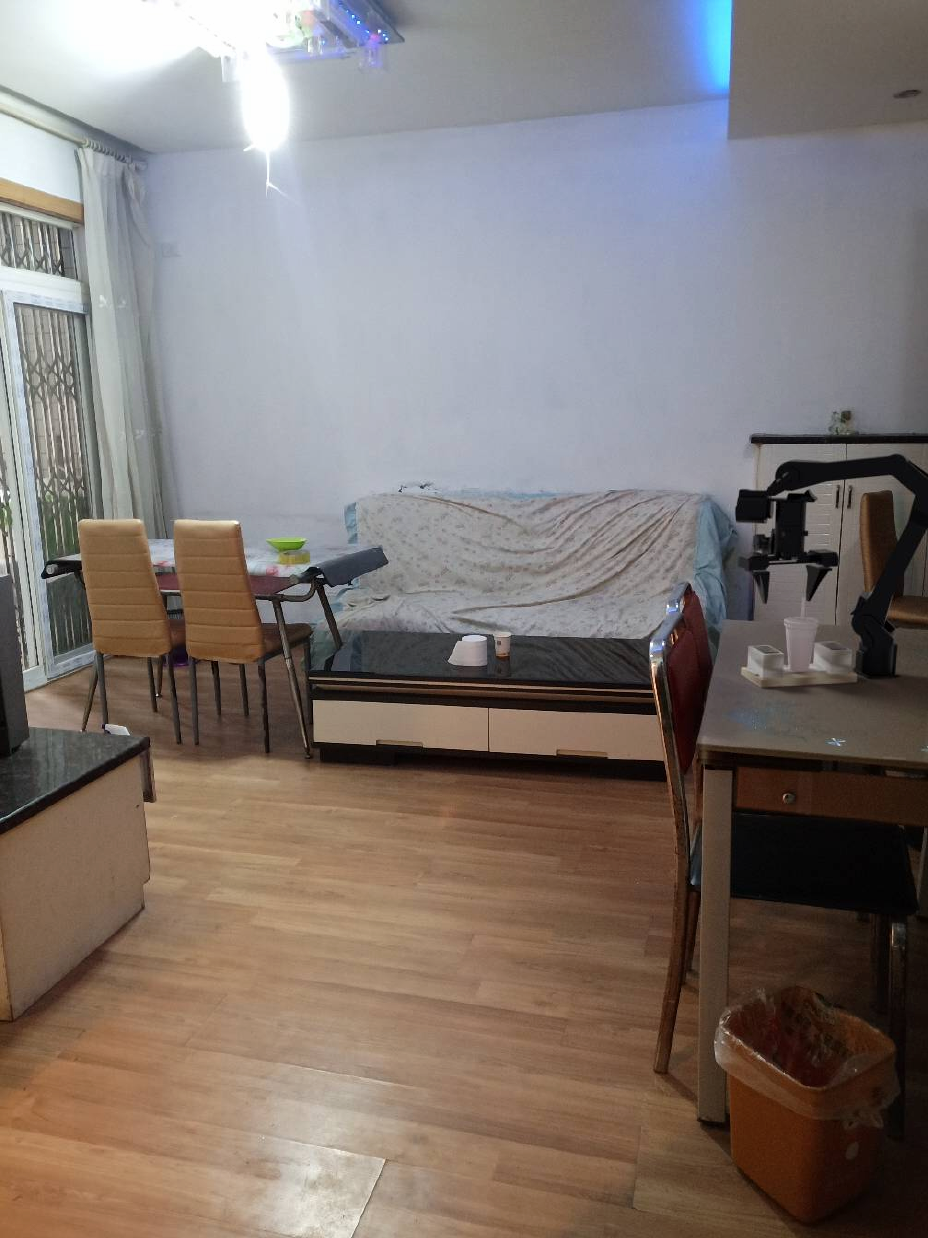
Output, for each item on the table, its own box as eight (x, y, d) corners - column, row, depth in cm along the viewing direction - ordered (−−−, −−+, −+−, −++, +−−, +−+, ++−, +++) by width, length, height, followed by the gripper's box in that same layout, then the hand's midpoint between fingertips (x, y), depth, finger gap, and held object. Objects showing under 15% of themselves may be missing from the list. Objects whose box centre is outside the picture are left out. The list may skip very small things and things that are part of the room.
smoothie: (819, 667, 188) (824, 596, 185) (811, 675, 183) (816, 602, 180) (786, 663, 191) (790, 593, 188) (777, 670, 186) (781, 599, 183)
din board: (833, 669, 193) (835, 639, 191) (856, 682, 184) (858, 650, 183) (741, 674, 191) (742, 644, 189) (760, 687, 182) (762, 655, 180)
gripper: (815, 518, 200) (811, 592, 203) (728, 521, 198) (725, 597, 201) (842, 524, 189) (838, 603, 192) (751, 528, 187) (748, 607, 190)
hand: (786, 602), depth 194 cm, fingers open, 9 cm apart
